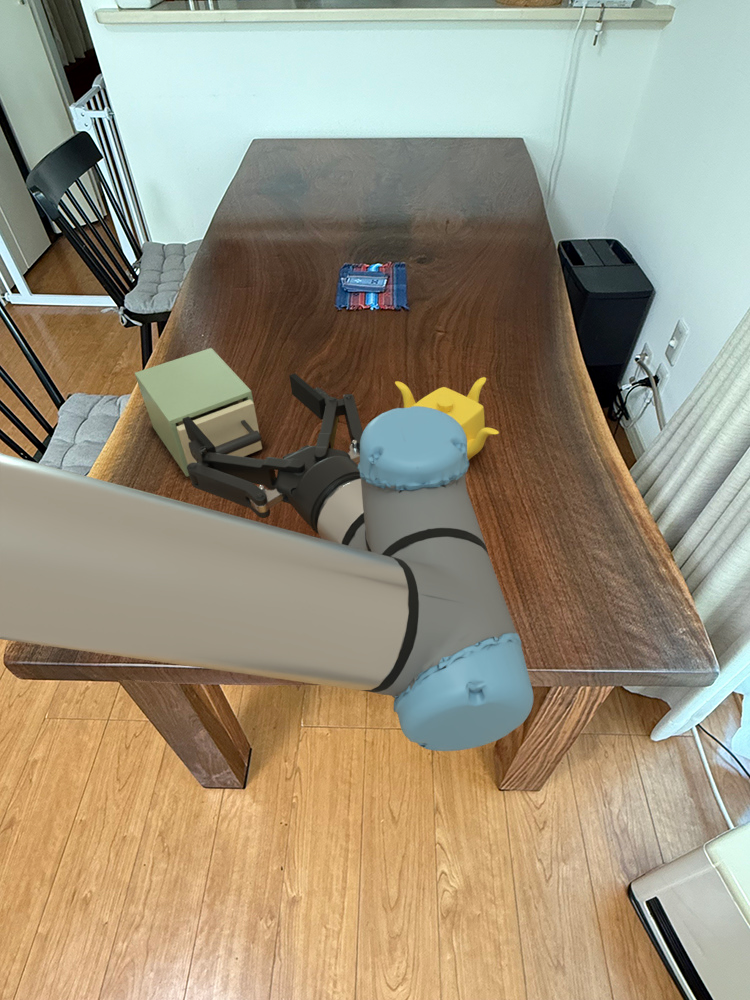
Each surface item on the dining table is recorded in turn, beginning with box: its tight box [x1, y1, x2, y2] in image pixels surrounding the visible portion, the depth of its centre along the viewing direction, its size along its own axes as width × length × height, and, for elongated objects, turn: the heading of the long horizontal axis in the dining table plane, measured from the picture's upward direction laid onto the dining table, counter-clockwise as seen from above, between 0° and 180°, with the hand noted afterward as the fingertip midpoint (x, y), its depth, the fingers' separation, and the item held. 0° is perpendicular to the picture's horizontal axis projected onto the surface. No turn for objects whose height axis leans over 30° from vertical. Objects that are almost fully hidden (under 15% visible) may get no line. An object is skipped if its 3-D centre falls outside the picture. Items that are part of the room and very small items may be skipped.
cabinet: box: [134, 347, 254, 478], centre depth 93 cm, size 15×13×11 cm
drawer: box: [175, 399, 263, 464], centre depth 90 cm, size 18×11×9 cm, turn 34°
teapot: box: [394, 376, 500, 461], centre depth 90 cm, size 15×14×10 cm
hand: (242, 404), depth 69 cm, fingers open, 13 cm apart
